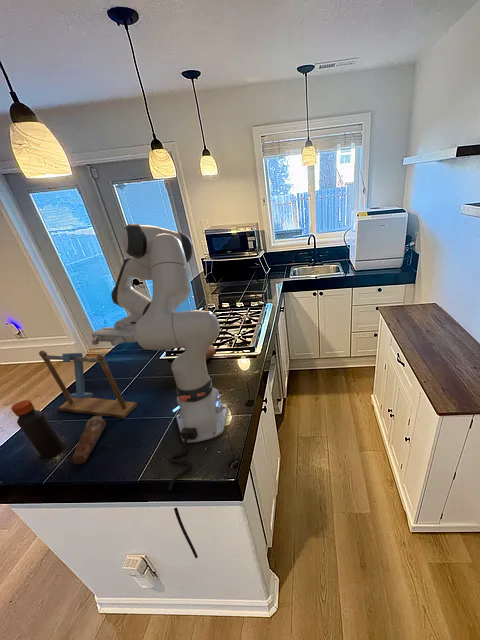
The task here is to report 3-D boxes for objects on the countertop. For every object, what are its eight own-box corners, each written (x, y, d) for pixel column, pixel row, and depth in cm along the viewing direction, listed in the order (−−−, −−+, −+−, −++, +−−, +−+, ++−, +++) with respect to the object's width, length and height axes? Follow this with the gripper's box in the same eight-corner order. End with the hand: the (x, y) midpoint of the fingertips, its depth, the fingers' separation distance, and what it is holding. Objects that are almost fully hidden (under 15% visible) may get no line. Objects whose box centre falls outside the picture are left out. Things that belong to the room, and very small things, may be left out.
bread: (109, 425, 115) (103, 413, 112) (88, 465, 99) (81, 452, 96) (92, 428, 115) (85, 416, 112) (68, 468, 99) (59, 455, 96)
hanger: (81, 395, 121) (78, 352, 118) (92, 396, 119) (89, 353, 117) (63, 398, 113) (59, 353, 111) (74, 400, 112) (70, 354, 109)
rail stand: (137, 405, 125) (113, 349, 111) (124, 418, 118) (96, 360, 105) (75, 398, 133) (45, 345, 119) (60, 410, 126) (26, 355, 112)
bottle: (69, 445, 108) (39, 399, 97) (52, 460, 103) (18, 412, 91) (54, 443, 110) (22, 397, 99) (37, 457, 104) (1, 410, 93)
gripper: (103, 321, 137) (78, 335, 126) (143, 322, 132) (121, 337, 121) (109, 335, 141) (85, 349, 130) (147, 336, 135) (126, 351, 124)
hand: (103, 343), depth 125 cm, fingers open, 8 cm apart
